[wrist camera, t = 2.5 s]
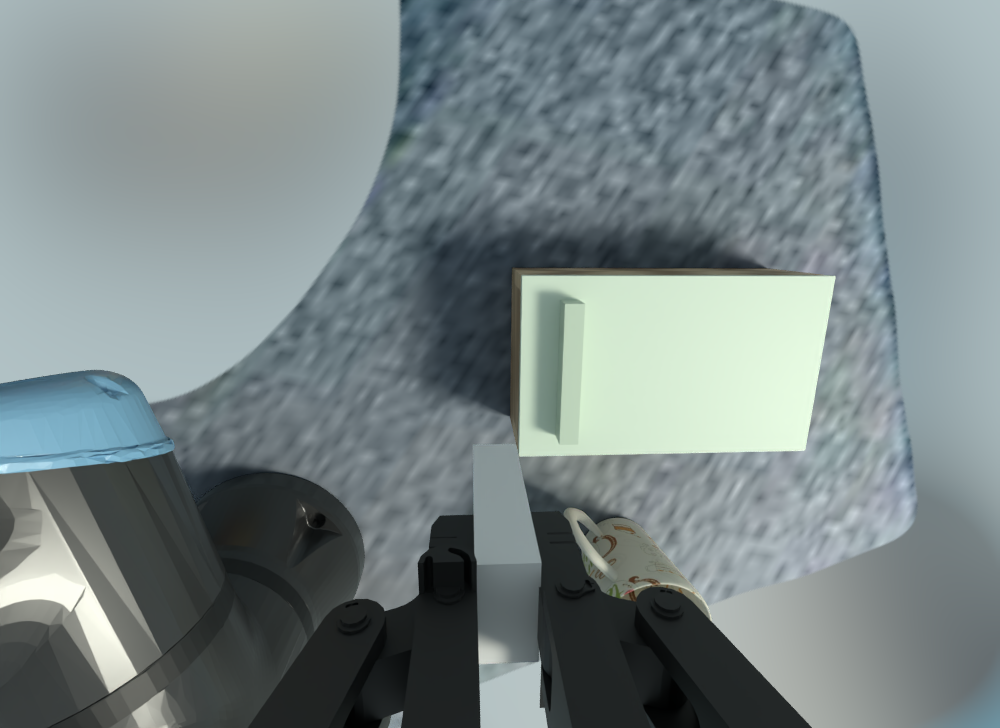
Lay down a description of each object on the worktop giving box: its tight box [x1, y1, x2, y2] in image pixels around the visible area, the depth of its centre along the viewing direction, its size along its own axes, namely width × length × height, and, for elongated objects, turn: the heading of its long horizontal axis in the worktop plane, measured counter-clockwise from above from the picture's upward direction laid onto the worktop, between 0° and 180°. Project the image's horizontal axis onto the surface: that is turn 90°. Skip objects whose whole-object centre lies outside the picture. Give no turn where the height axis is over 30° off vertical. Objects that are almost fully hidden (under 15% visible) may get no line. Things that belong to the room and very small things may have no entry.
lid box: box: [510, 268, 820, 449], centre depth 37 cm, size 20×12×6 cm, turn 90°
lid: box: [518, 275, 836, 457], centre depth 32 cm, size 20×12×2 cm, turn 90°
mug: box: [564, 508, 712, 622], centre depth 39 cm, size 8×13×10 cm, turn 44°
